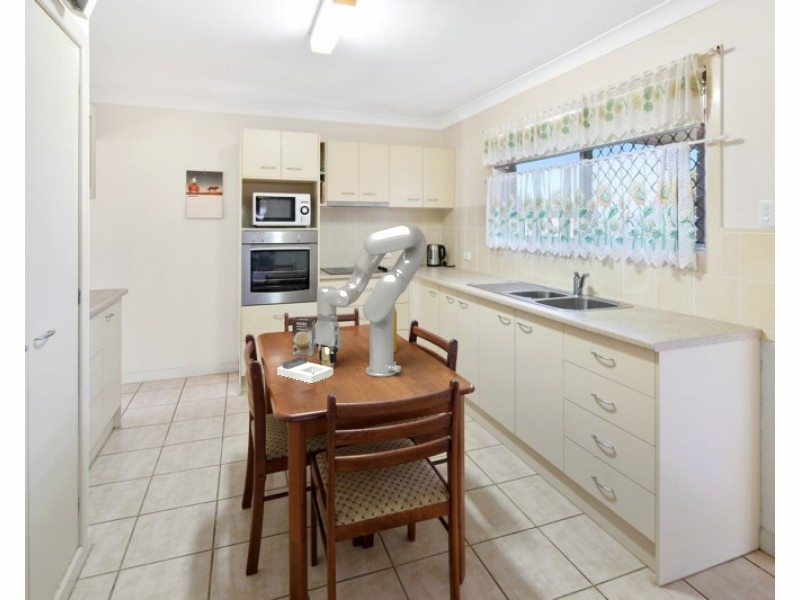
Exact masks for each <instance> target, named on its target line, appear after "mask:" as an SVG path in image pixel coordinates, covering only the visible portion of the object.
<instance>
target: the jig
mask: <svg viewBox="0 0 800 600" xmlns="http://www.w3.org/2000/svg"><path fill="white" fill-rule="evenodd" d="M276 373H277V376H279V375H281V376H280V377H282V376H285V377H284V378H286V377H289V378H288V379H290V378H293V379H292V380H294V379H296V380H295V381H297V380H301V381H304V382H303V383H305V382H308V383H307V384H309V383H314V382H316V383H318V382H317V381H319V382H321V381H323V380H326V379H328V378H330V376H331V377H333V376H334V369H333V368H331V367H327V366H322V364H318V363H312V362H309V361H308V360H307V357H305V356H300V357H296V358H294V359H290V360H288V361H287V360H286V361H285V362H282V365H281V366H279V367H277V368H276ZM313 373H314V374H313ZM332 375H333V376H332ZM325 378H326V379H325ZM322 379H323V380H322ZM320 380H321V381H320ZM301 381H300V382H301ZM314 384H315V383H314Z"/></svg>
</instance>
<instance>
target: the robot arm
mask: <svg viewBox="0 0 800 600" xmlns="http://www.w3.org/2000/svg"><path fill="white" fill-rule="evenodd" d="M427 246H428V245H427V240H426V236H425V234H424V233H423V231H422V229H421V228H420V227H419V226H417V225H415V224H410V223H409V224H402V225H398V226H393V227H389V228H385V229H382V230H375V231H371V232H370V233H368V234H367V235H365V238H364V240H363V248H362V250H361V251H360V253H359V254H358V256H357V257H356V258H355V260H354V262H353V265H354V268H353V272H352V274H351V276H350V278H349V279H348V281H347V282H346V283H345V285H344V286H342V287H339V288H335V286H330V285H329V286H327V285H325V286H319V287H317V291H316V303H317V304H316V305H317V306H316V309H317V312H316V313H317V315H316V316H317V320H316V322H315V339H314V340H313V342H314V343H315V345H316V348H317V351H318V352H319V353H318V356H319V358H318V359H319V361H320V362H322V351H321V346H323V345H325V346H330V350H331V354H330V363H334V364H335V363H336V362H337V353H338V352H339V350H340V349H342V348H343V344H342V341H341V340H342V338H341V328H340V323H339V321H338V319H339V317H338V316H337V307H338V308H346V307H349V306H350V305H352V304H354V303H355V302H356V301H358V299H359V298H360V297H361V295H362V293H364V291H365V290H366V288H367V286H368V284H369V282H370V280H371V279H372V277H373V275H374V273H375V272H376V270H377V268H378V267H379V266H380V264H381V262H382V261H383V259H384V258H385V256H386V255H387V254H388V253H394V252H397V251H402V252H401V254H400V255H399V257H398V258H397V260H396V262H395V263H394V264H393V267H392V268H391V269H390V270H389V271H388V272H386V273H385V274H383V275H382V276H381V277H380V278H379V279H378V281H377V283H375V285H374V287H373V289H372V290H371V292H370V293H369V295H368V297H367V298H366V300H365V301H364V304H363V307H362V312H363V315H364V317H365V319H366V320H368V321H369V328H368V329H369V336H368V337H369V343H368V344H369V345H368V346H369V366H367V367H366V368H365V373H366V374H367V375H369V376H372V377H379V378H380V377H382V378H383V377H390V376H395V375H396V374H397V373H400V372H401V370H402V366H401V365H397V362H396V360H394V354H395V353H394V316H395V308H396V302H397V301H398V299H399V298H400V296H401V295H402V294H404V293H405V291H406V290H407V288H408V286H409V285H410V283H411V281H412V279H413V278H414V276H415V275H416V273H417V271H418V270H419V268H420V266H421V265H422V263H423V261H424V259H425V257H426V254H427ZM333 347H334V350H333Z"/></svg>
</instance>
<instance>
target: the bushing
mask: <svg viewBox="0 0 800 600" xmlns="http://www.w3.org/2000/svg"><path fill="white" fill-rule="evenodd" d="M333 350H334V347H333ZM321 351H322V361H321V365H322V366H327V367H331V368H334V369H335V362H334V363H330V354H331V350H330V346H325V345H323V346H321Z"/></svg>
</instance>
